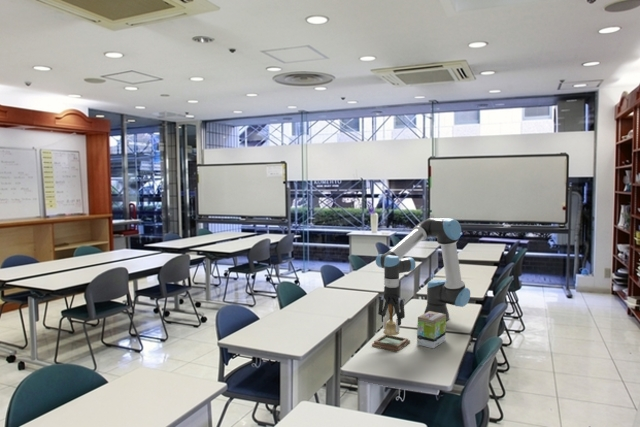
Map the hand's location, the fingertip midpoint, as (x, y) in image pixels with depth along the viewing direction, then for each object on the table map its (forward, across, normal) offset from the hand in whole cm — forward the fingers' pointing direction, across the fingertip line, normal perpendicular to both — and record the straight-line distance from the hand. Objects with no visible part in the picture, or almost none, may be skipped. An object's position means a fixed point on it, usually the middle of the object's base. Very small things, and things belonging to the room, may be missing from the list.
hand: (391, 329), depth 231 cm
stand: (+8, 0, 0) cm, 8 cm away
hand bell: (+2, 0, 0) cm, 2 cm away
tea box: (+8, +16, +14) cm, 23 cm away
